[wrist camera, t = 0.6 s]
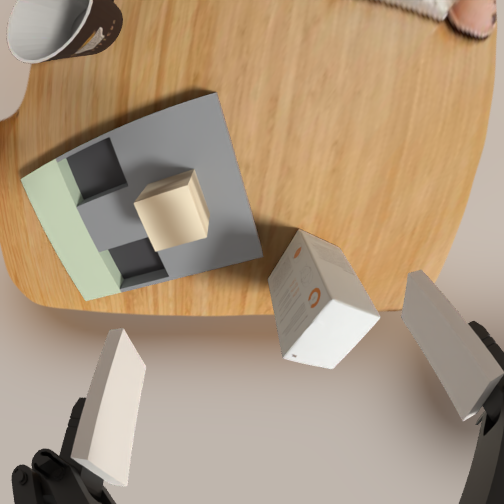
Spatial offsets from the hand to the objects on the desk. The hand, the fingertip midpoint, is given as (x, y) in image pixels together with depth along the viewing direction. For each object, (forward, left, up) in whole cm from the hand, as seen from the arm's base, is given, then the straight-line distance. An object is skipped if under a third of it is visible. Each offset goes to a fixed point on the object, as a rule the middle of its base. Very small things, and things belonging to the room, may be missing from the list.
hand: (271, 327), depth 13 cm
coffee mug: (+9, -22, -22) cm, 32 cm away
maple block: (+7, -1, -19) cm, 20 cm away
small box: (-4, +12, -22) cm, 25 cm away
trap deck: (+12, -1, -22) cm, 25 cm away
